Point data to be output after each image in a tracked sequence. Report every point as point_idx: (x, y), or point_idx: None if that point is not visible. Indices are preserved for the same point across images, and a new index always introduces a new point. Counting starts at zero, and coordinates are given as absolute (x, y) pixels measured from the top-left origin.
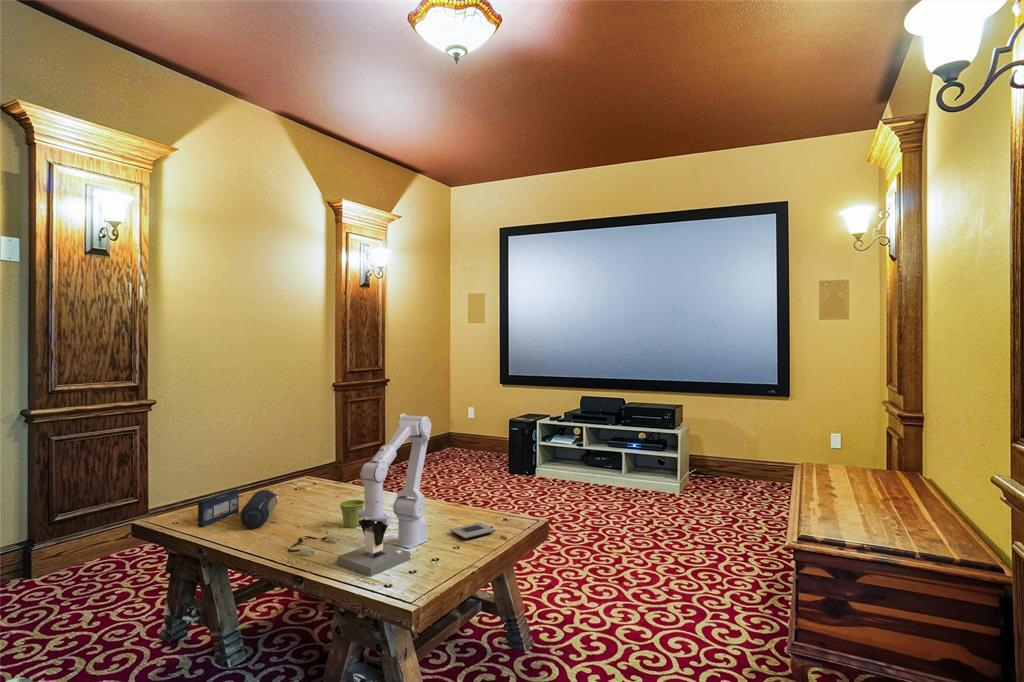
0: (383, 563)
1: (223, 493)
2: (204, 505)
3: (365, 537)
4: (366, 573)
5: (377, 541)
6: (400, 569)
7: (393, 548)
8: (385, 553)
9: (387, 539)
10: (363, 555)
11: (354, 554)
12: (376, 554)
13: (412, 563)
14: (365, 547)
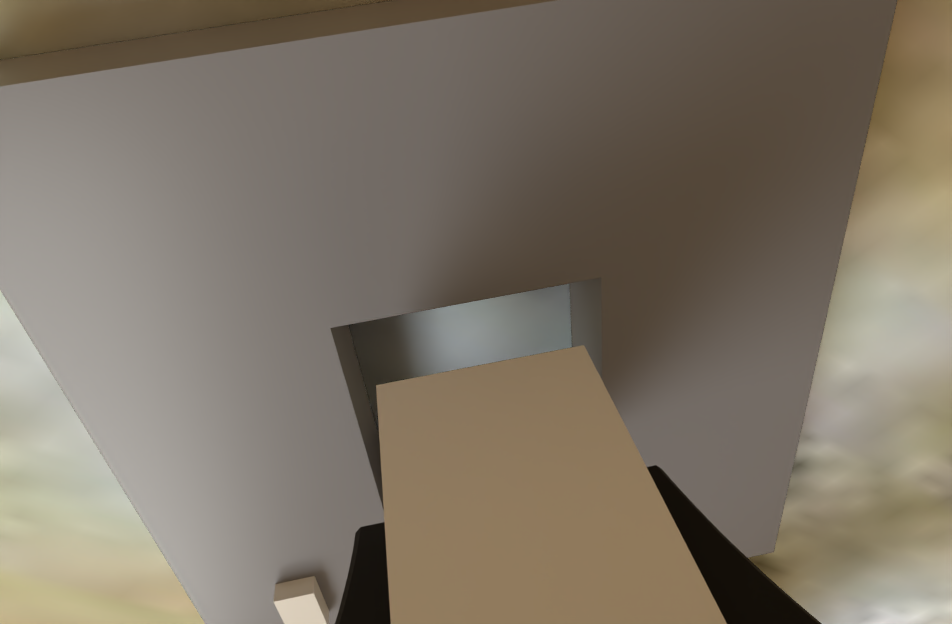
0: (47, 358)
1: None
2: None
3: (650, 536)
4: (77, 52)
5: (347, 606)
6: (27, 449)
7: None
8: None
9: (811, 605)
10: (596, 298)
11: (708, 211)
12: None
13: (132, 577)
14: (582, 388)
